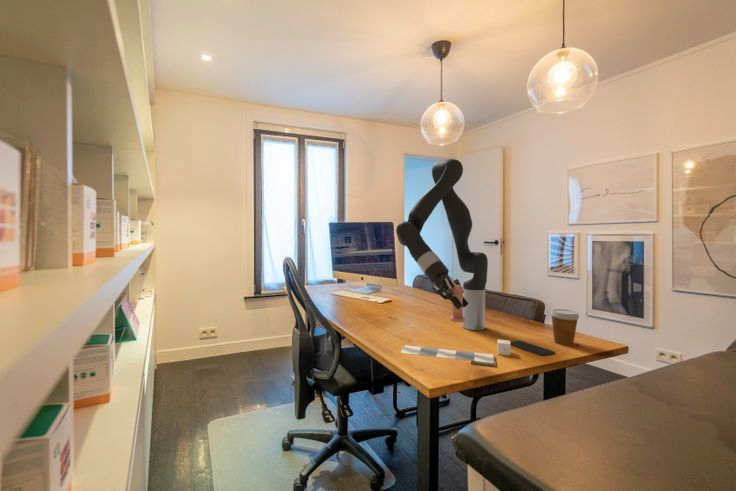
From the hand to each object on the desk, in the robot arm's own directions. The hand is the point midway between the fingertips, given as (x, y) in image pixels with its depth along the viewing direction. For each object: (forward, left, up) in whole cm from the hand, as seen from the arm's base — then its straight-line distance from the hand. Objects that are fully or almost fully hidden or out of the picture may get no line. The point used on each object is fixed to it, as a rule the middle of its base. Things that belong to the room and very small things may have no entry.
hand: (463, 306), depth 114 cm
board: (-1, -5, -17) cm, 18 cm away
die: (-11, +13, -18) cm, 25 cm away
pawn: (-1, -2, -5) cm, 5 cm away
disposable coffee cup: (-30, +36, -18) cm, 50 cm away
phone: (-19, +23, -18) cm, 35 cm away
